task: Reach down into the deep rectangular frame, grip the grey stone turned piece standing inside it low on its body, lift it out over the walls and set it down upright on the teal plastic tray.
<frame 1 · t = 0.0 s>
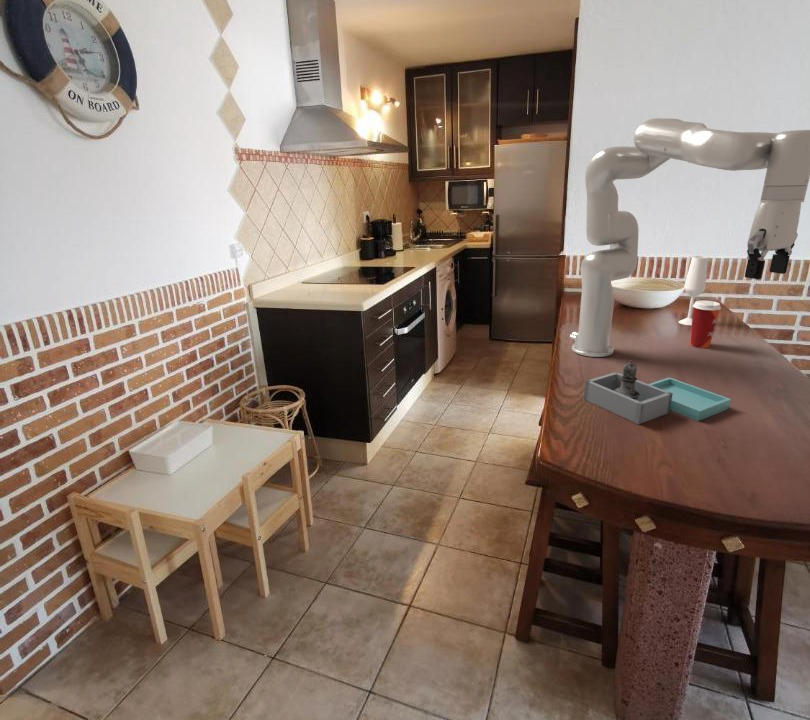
hand: (765, 275, 111), 31 cm above the counter, tool pointing down, fingers open, 9 cm apart
grey stone turned piece: (625, 406, 122), resting in deep rectangular frame
paper cup: (699, 345, 161), on the counter
deep rectangular frame: (625, 405, 122), on the counter
tray: (681, 402, 123), on the counter
champagne flute: (688, 323, 183), on the counter
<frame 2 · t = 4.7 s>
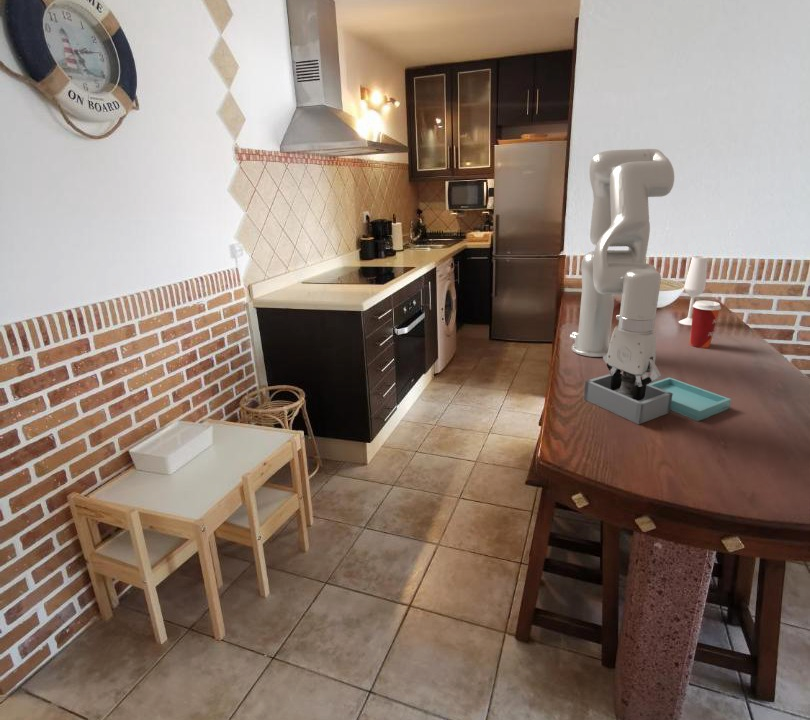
hand: (626, 394, 121), 3 cm above the counter, tool pointing down, fingers closed on grey stone turned piece, 5 cm apart
grey stone turned piece: (625, 406, 122), resting in deep rectangular frame, touching gripper
everything else where it was.
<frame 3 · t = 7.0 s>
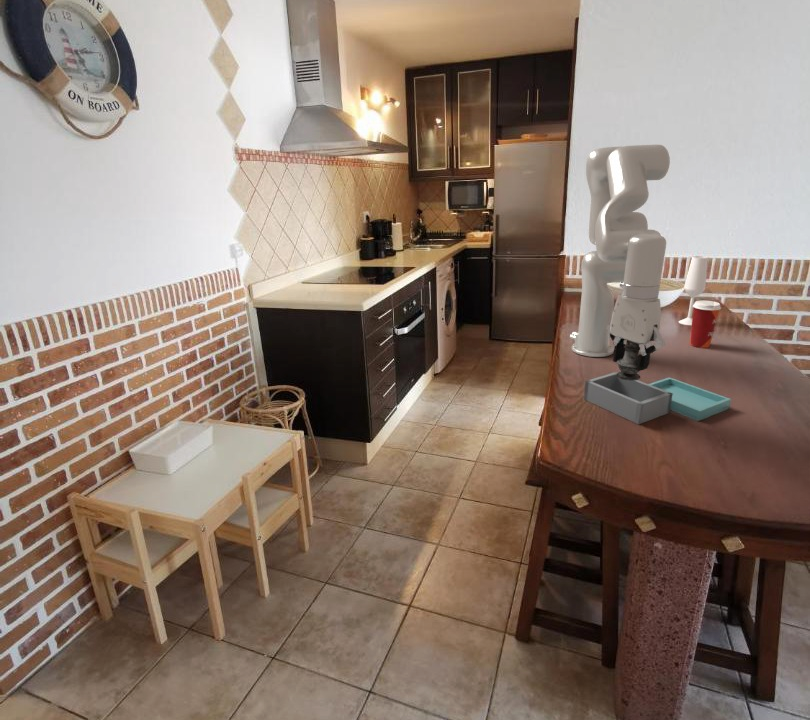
hand: (630, 364, 119), 11 cm above the counter, tool pointing down, fingers closed on grey stone turned piece, 5 cm apart
grey stone turned piece: (628, 376, 120), point 7 cm above the counter, touching gripper
everything else where it was.
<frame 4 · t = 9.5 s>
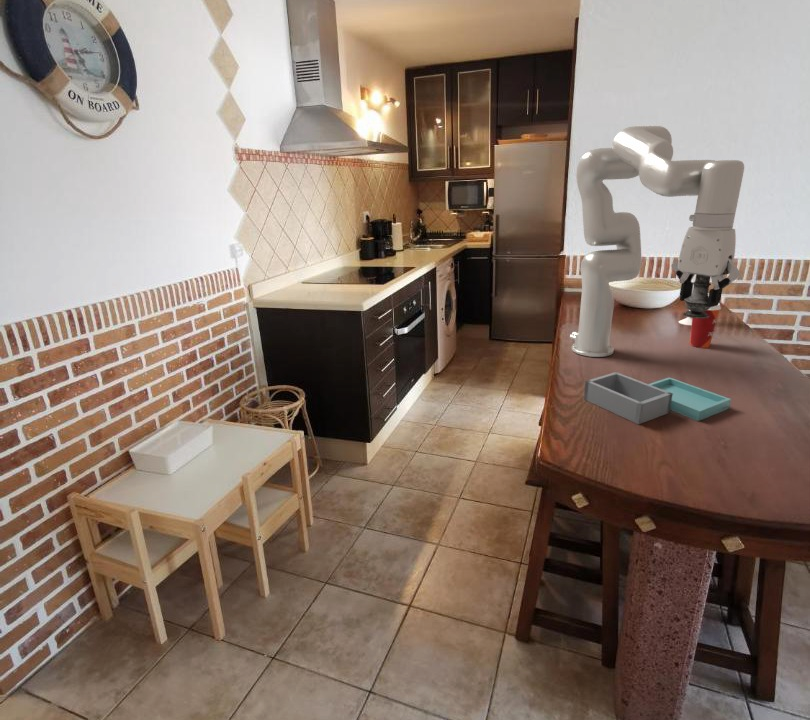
hand: (698, 302, 114), 25 cm above the counter, tool pointing down, fingers closed on grey stone turned piece, 5 cm apart
grey stone turned piece: (695, 315, 115), point 22 cm above the counter, touching gripper
everything else where it was.
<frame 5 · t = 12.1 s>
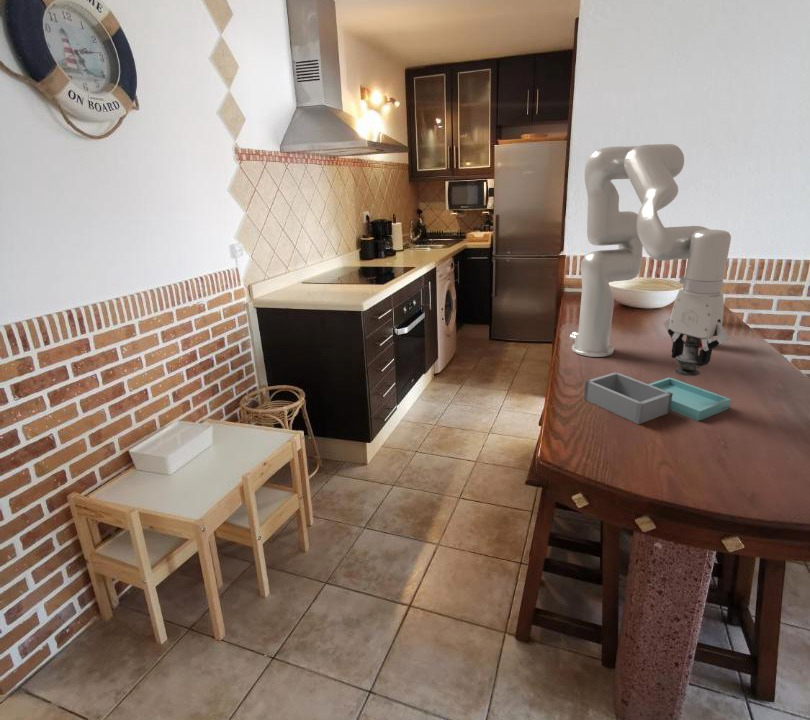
hand: (689, 360, 119), 11 cm above the counter, tool pointing down, fingers closed on grey stone turned piece, 5 cm apart
grey stone turned piece: (687, 372, 120), point 8 cm above the counter, touching gripper
everything else where it was.
when the fingers open (5 cm above the counter, at t = 14.2 s): grey stone turned piece drops 1 cm, resting on tray.
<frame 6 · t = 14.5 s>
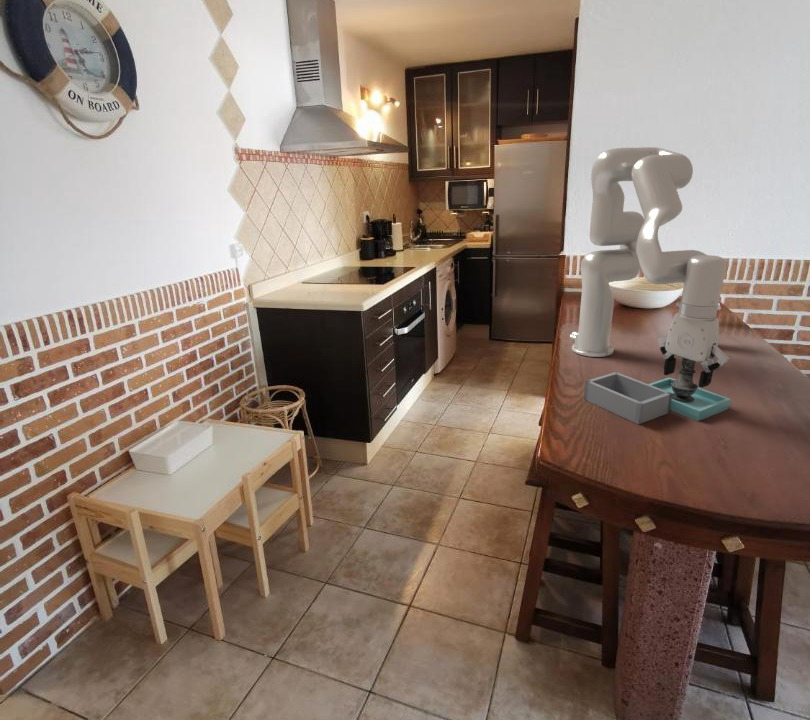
hand: (685, 379, 121), 6 cm above the counter, tool pointing down, fingers open, 8 cm apart
grey stone turned piece: (681, 398, 123), point 1 cm above the counter, touching tray
everything else where it was.
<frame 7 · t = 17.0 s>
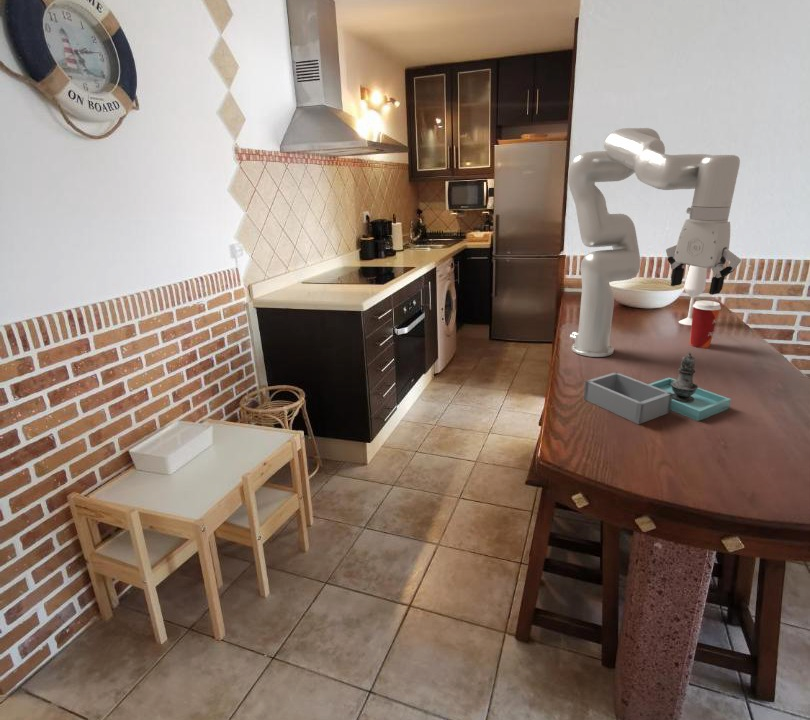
hand: (694, 289, 118), 27 cm above the counter, tool pointing down, fingers open, 9 cm apart
nothing on the counter moved.
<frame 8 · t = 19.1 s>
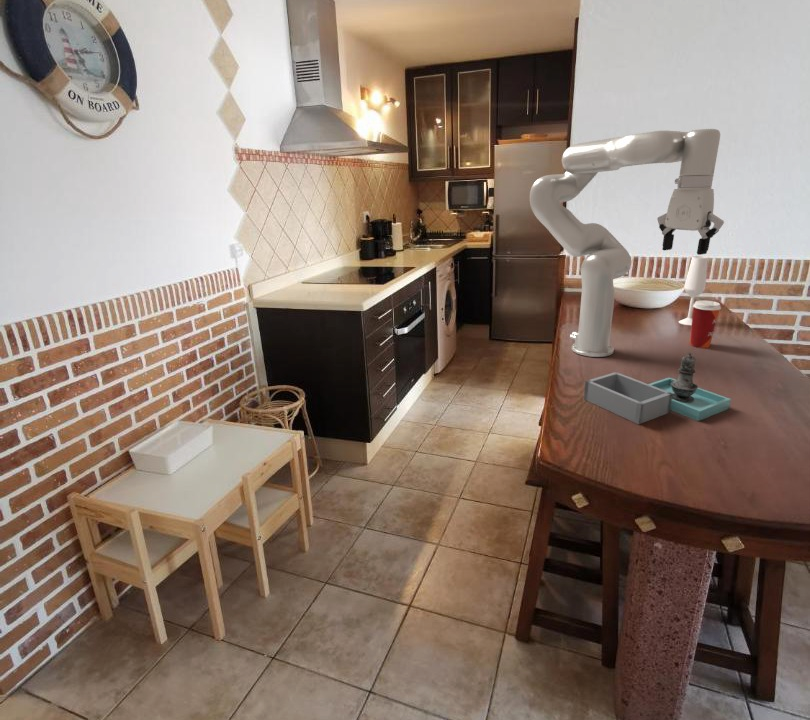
hand: (683, 251, 131), 33 cm above the counter, tool pointing down, fingers open, 9 cm apart
nothing on the counter moved.
at the end: grey stone turned piece inside the target area on the tray (0.2 cm from its centre), point 0.8 cm above the tray's base; grey stone turned piece tilted 0°; the gripper is holding nothing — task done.
